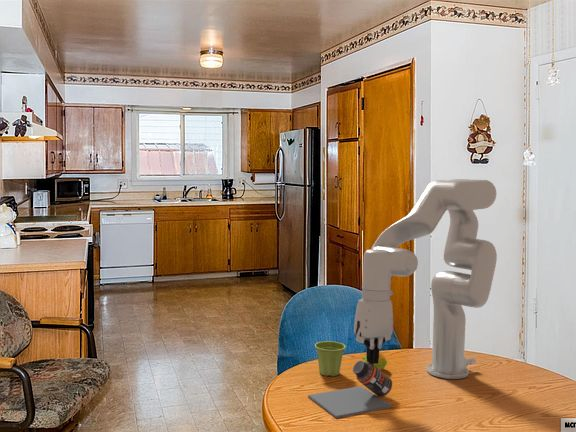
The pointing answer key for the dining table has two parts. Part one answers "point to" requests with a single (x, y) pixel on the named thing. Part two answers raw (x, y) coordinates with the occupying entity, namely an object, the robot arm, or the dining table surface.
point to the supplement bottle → (372, 378)
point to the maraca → (381, 362)
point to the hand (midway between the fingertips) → (372, 362)
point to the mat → (349, 401)
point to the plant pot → (329, 357)
